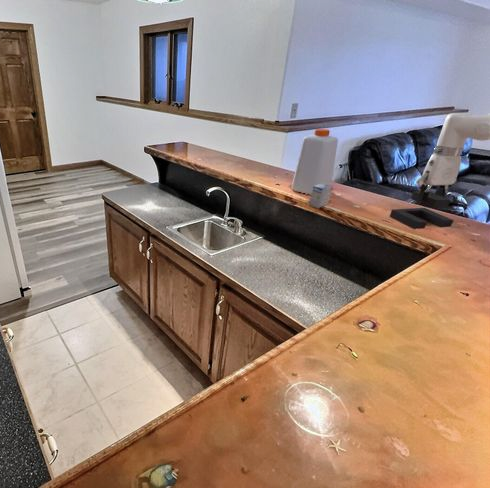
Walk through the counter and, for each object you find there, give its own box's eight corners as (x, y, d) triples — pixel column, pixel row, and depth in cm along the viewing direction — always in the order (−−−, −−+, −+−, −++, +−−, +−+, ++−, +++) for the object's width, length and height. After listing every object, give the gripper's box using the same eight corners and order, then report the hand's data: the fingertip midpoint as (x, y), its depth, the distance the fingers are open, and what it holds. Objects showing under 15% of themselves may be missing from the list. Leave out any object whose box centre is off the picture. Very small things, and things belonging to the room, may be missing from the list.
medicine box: (318, 201, 152) (322, 182, 148) (328, 204, 149) (332, 185, 145) (308, 205, 148) (313, 186, 144) (318, 208, 144) (323, 188, 141)
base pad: (421, 214, 139) (424, 207, 138) (450, 227, 128) (453, 220, 127) (389, 216, 137) (391, 209, 136) (415, 229, 126) (418, 222, 124)
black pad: (424, 198, 133) (427, 190, 132) (447, 207, 124) (450, 199, 123) (410, 199, 132) (413, 191, 131) (432, 208, 123) (436, 200, 122)
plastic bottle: (333, 191, 166) (347, 130, 153) (317, 198, 157) (331, 133, 144) (303, 184, 176) (314, 126, 163) (287, 190, 167) (298, 129, 154)
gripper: (435, 154, 115) (416, 205, 123) (479, 153, 118) (458, 203, 126) (417, 149, 122) (400, 198, 130) (459, 148, 124) (440, 196, 132)
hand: (429, 200), depth 128 cm, fingers closed on black pad, 6 cm apart
